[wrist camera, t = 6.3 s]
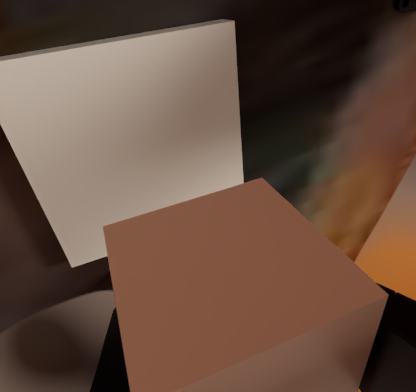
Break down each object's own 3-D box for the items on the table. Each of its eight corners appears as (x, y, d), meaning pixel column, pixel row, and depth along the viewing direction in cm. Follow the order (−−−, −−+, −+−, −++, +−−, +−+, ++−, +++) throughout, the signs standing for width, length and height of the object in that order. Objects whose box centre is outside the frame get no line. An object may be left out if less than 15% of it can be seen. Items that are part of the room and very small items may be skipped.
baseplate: (222, 19, 17) (234, 20, 16) (236, 199, 24) (244, 210, 23) (-22, 60, 14) (-29, 66, 13) (71, 252, 21) (71, 267, 20)
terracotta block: (261, 177, 10) (388, 295, 6) (263, 283, 13) (351, 409, 9) (102, 226, 9) (133, 410, 5) (142, 330, 12) (182, 501, 8)
